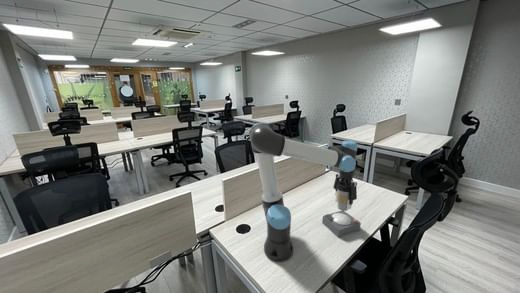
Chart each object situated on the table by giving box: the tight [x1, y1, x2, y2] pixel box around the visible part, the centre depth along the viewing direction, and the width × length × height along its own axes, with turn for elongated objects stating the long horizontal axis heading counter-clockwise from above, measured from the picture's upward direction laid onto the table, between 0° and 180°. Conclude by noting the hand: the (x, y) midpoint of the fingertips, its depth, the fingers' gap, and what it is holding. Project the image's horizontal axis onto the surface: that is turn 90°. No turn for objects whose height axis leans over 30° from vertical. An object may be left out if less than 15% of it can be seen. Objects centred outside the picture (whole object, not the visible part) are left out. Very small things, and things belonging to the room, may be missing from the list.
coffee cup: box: [336, 183, 351, 212], centre depth 118 cm, size 9×9×15 cm
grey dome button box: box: [321, 210, 362, 238], centre depth 122 cm, size 16×14×6 cm
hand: (343, 204), depth 119 cm, fingers closed on coffee cup, 8 cm apart
